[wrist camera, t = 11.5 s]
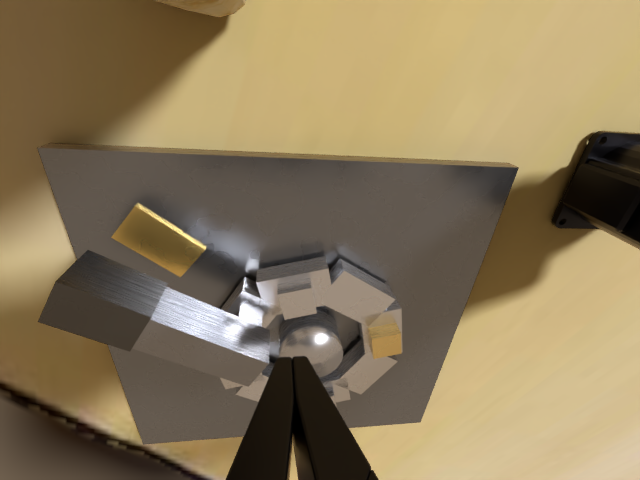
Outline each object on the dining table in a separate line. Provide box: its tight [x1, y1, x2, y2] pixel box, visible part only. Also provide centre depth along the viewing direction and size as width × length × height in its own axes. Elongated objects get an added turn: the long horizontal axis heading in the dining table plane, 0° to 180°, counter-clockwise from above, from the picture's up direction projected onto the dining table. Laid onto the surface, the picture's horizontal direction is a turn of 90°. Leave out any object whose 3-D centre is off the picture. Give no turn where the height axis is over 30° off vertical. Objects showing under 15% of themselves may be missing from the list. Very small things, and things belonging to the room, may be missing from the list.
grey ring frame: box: [38, 250, 403, 407], centre depth 20 cm, size 21×13×5 cm, turn 53°
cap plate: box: [37, 143, 518, 444], centre depth 23 cm, size 26×26×3 cm
